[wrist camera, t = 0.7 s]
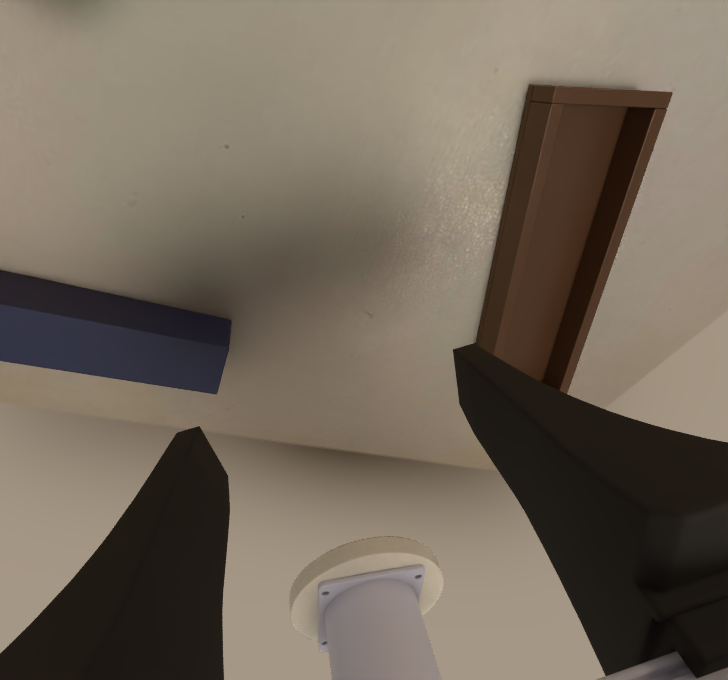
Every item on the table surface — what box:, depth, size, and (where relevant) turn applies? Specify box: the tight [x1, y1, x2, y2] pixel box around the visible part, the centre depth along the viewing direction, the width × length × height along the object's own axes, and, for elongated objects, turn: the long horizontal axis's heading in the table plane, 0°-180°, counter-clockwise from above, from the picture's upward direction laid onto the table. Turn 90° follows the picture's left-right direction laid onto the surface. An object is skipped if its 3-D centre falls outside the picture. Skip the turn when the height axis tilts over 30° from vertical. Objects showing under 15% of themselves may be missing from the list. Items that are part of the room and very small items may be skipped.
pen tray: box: [476, 85, 672, 394], centre depth 23 cm, size 16×5×2 cm, turn 177°
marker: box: [0, 271, 232, 394], centre depth 19 cm, size 12×3×3 cm, turn 69°
